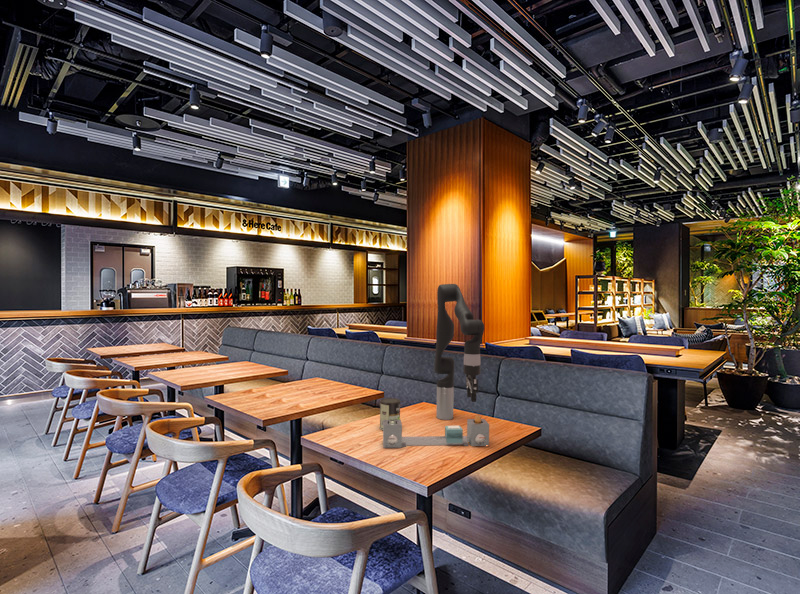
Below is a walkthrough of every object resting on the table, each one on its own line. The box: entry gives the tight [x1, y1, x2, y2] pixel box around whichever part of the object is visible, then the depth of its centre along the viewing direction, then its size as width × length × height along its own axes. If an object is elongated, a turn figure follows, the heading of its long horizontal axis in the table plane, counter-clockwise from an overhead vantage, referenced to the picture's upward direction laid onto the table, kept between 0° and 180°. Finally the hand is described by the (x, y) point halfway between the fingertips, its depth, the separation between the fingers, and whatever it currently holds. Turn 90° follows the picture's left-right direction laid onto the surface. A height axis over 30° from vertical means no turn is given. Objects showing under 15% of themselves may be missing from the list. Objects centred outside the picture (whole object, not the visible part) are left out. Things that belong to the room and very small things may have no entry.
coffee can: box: [379, 397, 401, 431], centre depth 209 cm, size 10×10×14 cm
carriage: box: [444, 425, 464, 443], centre depth 188 cm, size 5×7×6 cm
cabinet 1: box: [382, 419, 403, 449], centre depth 186 cm, size 9×8×11 cm
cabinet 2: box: [466, 418, 490, 447], centre depth 189 cm, size 9×8×10 cm
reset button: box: [474, 414, 482, 423], centre depth 189 cm, size 3×3×4 cm
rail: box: [402, 435, 469, 448], centre depth 188 cm, size 6×30×3 cm, turn 94°
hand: (471, 399), depth 189 cm, fingers open, 8 cm apart
